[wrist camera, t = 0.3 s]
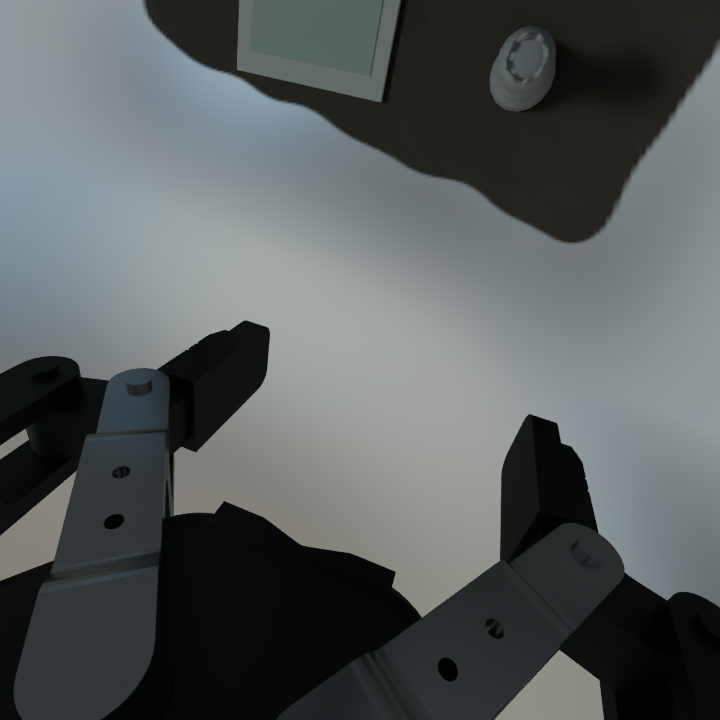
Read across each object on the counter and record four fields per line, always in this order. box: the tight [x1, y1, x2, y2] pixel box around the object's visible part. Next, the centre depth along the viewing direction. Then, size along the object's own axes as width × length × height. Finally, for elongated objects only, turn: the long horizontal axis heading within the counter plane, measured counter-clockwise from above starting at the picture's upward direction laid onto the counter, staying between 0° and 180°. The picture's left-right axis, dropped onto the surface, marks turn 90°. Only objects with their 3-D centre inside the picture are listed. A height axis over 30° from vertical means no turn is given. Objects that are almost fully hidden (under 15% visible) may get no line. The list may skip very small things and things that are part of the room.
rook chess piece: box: [490, 26, 556, 112], centre depth 27 cm, size 4×4×8 cm
